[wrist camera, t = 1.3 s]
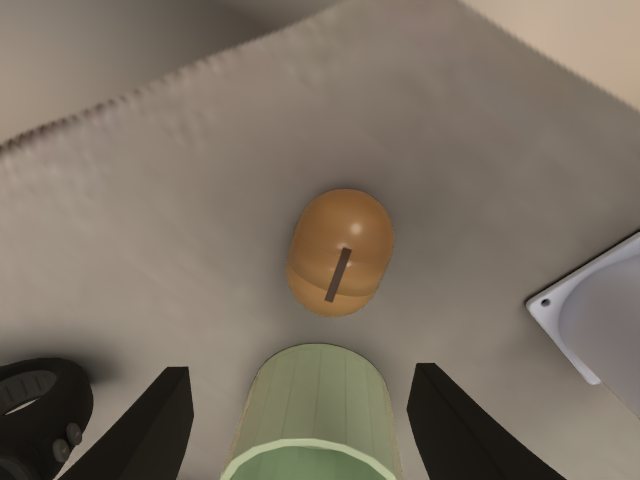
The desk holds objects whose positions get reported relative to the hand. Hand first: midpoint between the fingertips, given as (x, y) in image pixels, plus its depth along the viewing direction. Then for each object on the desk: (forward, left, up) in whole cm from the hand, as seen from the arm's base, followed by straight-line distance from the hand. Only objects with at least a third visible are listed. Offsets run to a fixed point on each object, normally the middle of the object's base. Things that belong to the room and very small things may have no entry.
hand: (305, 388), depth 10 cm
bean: (-2, -1, -10) cm, 10 cm away
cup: (+8, +8, -10) cm, 15 cm away
